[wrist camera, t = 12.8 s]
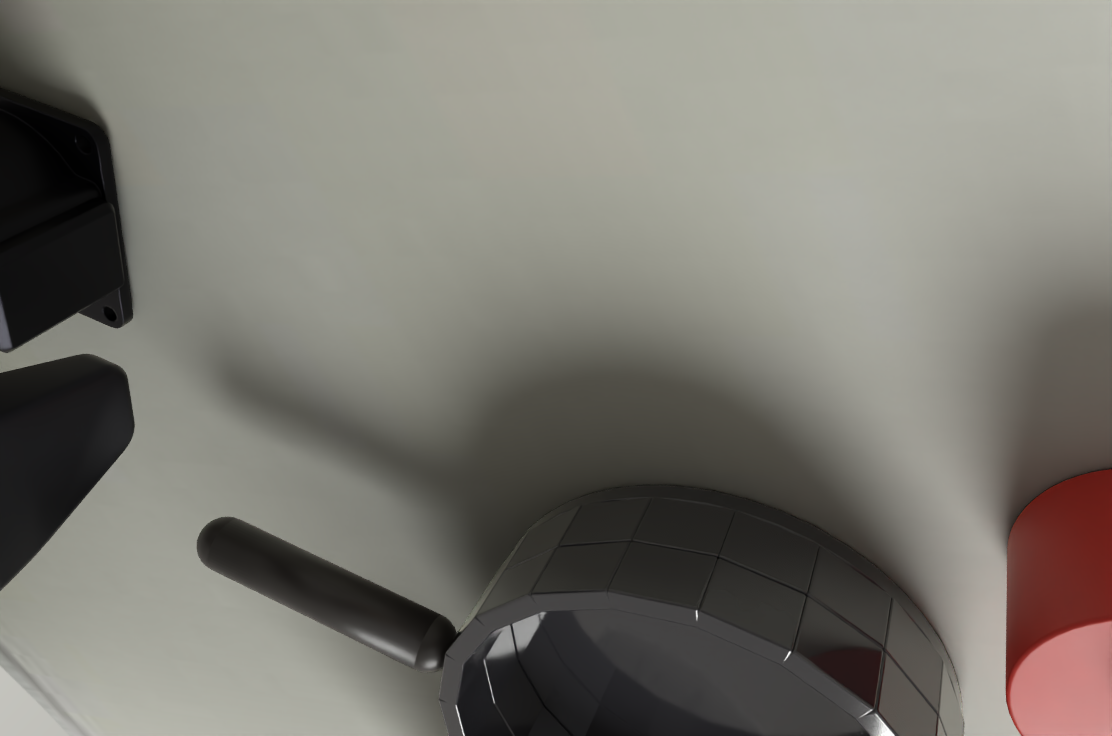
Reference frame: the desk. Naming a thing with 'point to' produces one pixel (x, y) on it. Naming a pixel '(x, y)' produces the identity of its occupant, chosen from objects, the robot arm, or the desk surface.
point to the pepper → (1061, 611)
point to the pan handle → (327, 593)
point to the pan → (693, 630)
